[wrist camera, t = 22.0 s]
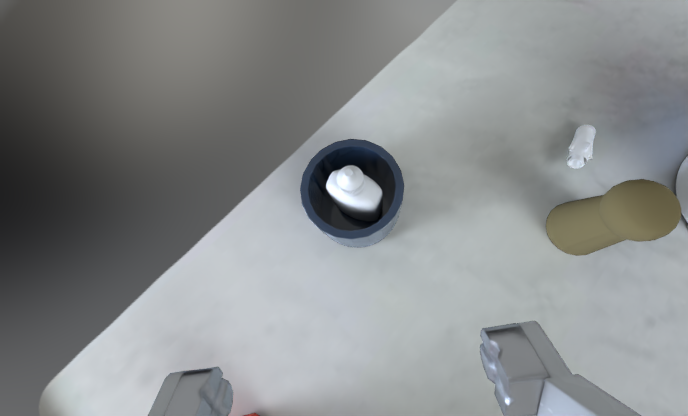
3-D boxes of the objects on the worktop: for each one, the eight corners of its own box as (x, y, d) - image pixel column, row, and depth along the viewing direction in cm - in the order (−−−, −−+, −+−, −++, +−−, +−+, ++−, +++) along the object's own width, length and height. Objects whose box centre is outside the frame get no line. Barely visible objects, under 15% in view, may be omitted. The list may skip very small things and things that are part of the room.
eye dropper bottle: (358, 177, 40) (348, 133, 28) (387, 212, 38) (389, 181, 27) (330, 199, 40) (308, 164, 28) (358, 234, 38) (348, 213, 27)
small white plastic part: (607, 145, 38) (627, 133, 35) (568, 175, 37) (584, 166, 34) (583, 123, 39) (600, 110, 36) (545, 153, 38) (558, 142, 35)
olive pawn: (579, 192, 37) (658, 155, 26) (617, 237, 35) (718, 217, 25) (534, 219, 37) (595, 193, 26) (570, 266, 35) (651, 258, 25)
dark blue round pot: (390, 159, 40) (392, 130, 33) (407, 239, 38) (413, 228, 30) (311, 174, 41) (294, 149, 34) (322, 254, 39) (307, 246, 31)
